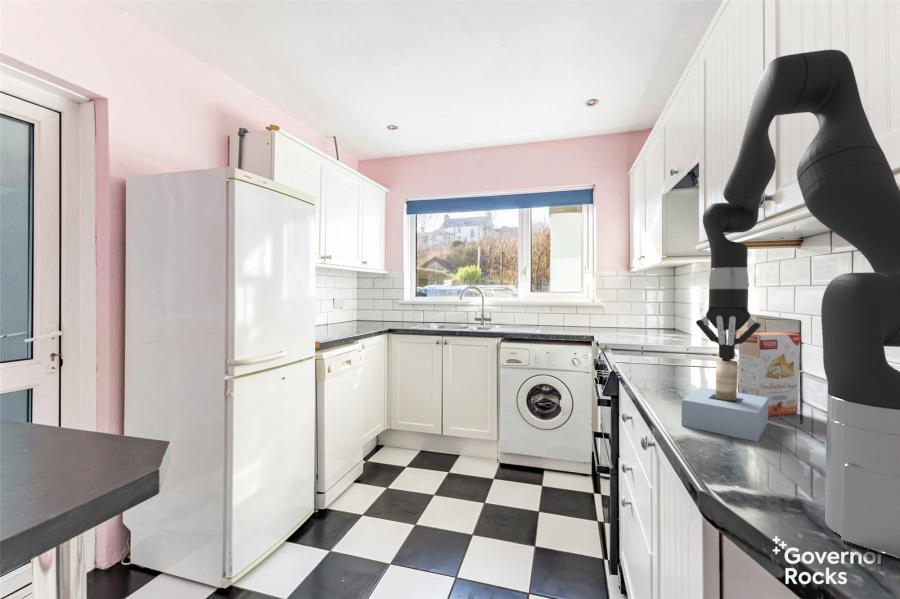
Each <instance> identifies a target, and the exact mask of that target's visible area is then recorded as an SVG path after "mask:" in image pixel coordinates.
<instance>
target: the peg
mask: <svg viewBox="0 0 900 599" xmlns="http://www.w3.org/2000/svg"><path fill="white" fill-rule="evenodd" d="M715 368H716V369H715V370H716V372H715V389H716V396H715V398H716V400H720V401H726V402H732V403H736V401H737V399H736V396H737V393H738V361H737V360H735V359H731V361H722V358H719V359H716V366H715Z"/></svg>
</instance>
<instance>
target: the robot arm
mask: <svg viewBox="0 0 900 599" xmlns="http://www.w3.org/2000/svg"><path fill="white" fill-rule="evenodd" d="M753 95H754V96H753V99H752V102H751V106H750V110H749V113H748V117H747V122H746V124H745V128H744V132H743V136H742V141H741V145H740V149H739V152H738V156H737V157H736V161H735V163H734V167H733V169H732V171H731V172H730V175H729V178H728V180H727V182H726V183H725V186H724V189H723V191H722V192H723V195H722V196H723V198H724V199H725V201H726V202H717V203H716V202H715V203H712V204H710V205H708V206H707V207H706V208H705V210H704V211H703V214H702V224H703V228H704V232H705V234H706V236H707V237H706V238H707V240H708V244H709V249H710V250H709V251H710V273H709V279H708V280H709V281H708V283H709V284H708V310H707V312H706V313H705V316H704V317H703V318H701V319H698V320H696V322H695V324H696V325H697V326H698V328H699V329H700V330H701V331H702V332H703V333H704V335H705V336H706V337H707V338H708V339H709V341H711V342H714V343H716V344H718V356H719V359H722V361H731V360H734V358H735V354H736V352H735V349H736V348H735V346H736V345H739V344H741V343H743V342H745V341H746V340H747V339H748V338H749V337H750V336H751V335H752V334H753V333H756V332H757V331H758V330H759V329H760V328H761V326H762V323H761V322H758V321H756V320H754V319H753V318H751V314H750V312H749V287H750V282H749V274H748V255H749V254H748V253H749V252H748V250H749V249H748V246H747V245H746V244H745V243H743V242H737V241H732V240H729V239H728V238H727V237H726V234H730V233H731V234H732V233H733V234H735V233H745V232H749V231H751V230H752V229H753V228H755V226H756V225H757V223H758V221H759V211H760V204H761V200H762V197H763V194H764V193H765V190H766V188H767V187H768V185H769V183H770V181H771V180H772V178H773V175H774V173H775V170H776V166H777V165H776V164H777V163H776V162H777V161H776V155H775V152H774V149H773V146H772V144H771V141H770V140H771V139H770V136H769V130H770V127H771V123H772V121H773V120H774V119H775V117H776V116H784V115H792V114H793V115H794V114H803V113H811V114H812V115H814V116H815V117H816V119H817V123H818V127H819V129H818V131H817V133H816V135H815V136H814V137H813V139H812V141H811V142H810V143H809V145H808V146H807V148H806V149H805V151H804V153H803V155H802V157H801V158H800V160H799V162H798V164H797V165H798V166H797V169H796V177H797V183H798V185H799V189H800V192H801V195H802V198H803V201H804V204H805V206H806V208H807V210H808V211H809V213H810V214H811V215H812V216H813V217H814V218H815V219H816V220H817V221H819V222H820V223H821V224H823V225H824V227H826V228H828V229H829V230H830V231H832V232H833V233H834V234H836V235H837V236H839V237H841V239H843V240H844V241H846V242H848V243H849V244H850V245H852V246H853V247H854V248H856V250H857V251H858V252H860V253H861V254H862V255H863V257H864V258H865V259H866V260H867V261H868V263H869V265H870V266H871V268H872V270H873V272H848V273H843V274H840V275H837V276H836V277H834V278H833V279H831V281H830V282H829V283H828V285H826V286H827V287H826V288H825V290H824V293H823V295H822V301H821V311H820V312H821V314H820V316H821V317H820V318H821V320H820V322H821V333H822V334H821V335H822V336H821V337H822V359H823V360H822V361H823V369H824V374H825V377H826V380H827V406H826V407H827V409H826V411H827V412H826V414H827V415H826V444H825V447H826V448H825V449H826V451H825V454H826V455H825V490H824V492H825V496H824V497H825V499H824V500H825V502H824V504H825V505H824V507H825V508H824V509H825V510H824V512H825V513H824V515H825V516H824V523H825V525H826V526H827V527H828V528H829V529H830V530H831V531H833V533H835V532H836V533H837V535H838V534H839V535H840V536H841V537H840V536H839V535H838V536H839V537H840V540H841V539H842V540H845V541H848V542H851V543H854V544H858V545H861V546H866V547H869V548H875V549H878V550H881V551H884V552H887V553H890V554H892V555H895V556H897V557H899V558H900V370H897V369H896V368H894V367H893V366H892V365H890V364H889V362H888V361H887V356H886V353H885V347H890V348H891V347H892V348H895V347H896V348H897V347H898V348H899V347H900V188H899V187H898V186H899V185H898V183H897V180H896V178H895V175H894V173H893V170H892V168H891V166H890V163H889V161H888V159H887V157H886V154H885V152H884V151H883V149H882V148H881V146H880V143H879V142H878V140H877V137H876V136H875V133H874V132H873V129H872V126H871V124H870V122H869V118H868V117H867V114H866V112H865V110H864V106H863V102H862V99H861V96H860V90H859V87H858V83H857V79H856V75H855V72H854V68H853V65H852V62H851V60H850V58H849V57H848V55H847V54H846V53H845V52H844V51H841V50H839V49H823V50H815V51H808V52H807V51H806V52H800V53H794V54H787V55H781V56H779V57H776V58H774V59H773V60H772V61H770V62H769V64H768V65H767V66H766V68H765V69H763V72H762V74H761V76H760V78H759V80H758V84H757V86H756V89H755V92H754V94H753ZM710 323H711V324H712V326H713V327H714V328H715V329H716V330H717V335H718V336H717V335H716V333H715V332H714V331H713V330H712V329H711V328H710ZM746 323H747V324H746ZM744 325H746V328H747V330H746V331H744V332H743V333H744V334H743V335H741V336H740V335H739V337H738V338H737V335H738V330H739V331H740V329H741V328H743V327H744ZM836 533H835V534H836ZM842 540H841V541H842Z"/></svg>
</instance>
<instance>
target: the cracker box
mask: <svg viewBox="0 0 900 599" xmlns="http://www.w3.org/2000/svg"><path fill="white" fill-rule="evenodd" d="M744 333H745V332H739V337H740V336H741V335H743V334H744ZM738 347H739V348H738V366H737V393H742V394H749V395H756V396H762V397H769V399H768V417H770V416H783V415H793V414H794V415H795V414H796V415H797V414H798V406H799V405H798V401H799V382H800V381H799V378H800V355H801V354H800V353H801V334H799V333H794V332H793V333H792V332H790V333H789V332H776V331H775V332H769V331H768V332H767V331H765V332H760V331H759V332H754V333H753V334H752V335H751V336H750V337H749V338H748V339H747V340H746V341H745V342H743V343H741V344H738Z"/></svg>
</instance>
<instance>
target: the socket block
mask: <svg viewBox="0 0 900 599" xmlns="http://www.w3.org/2000/svg"><path fill="white" fill-rule="evenodd" d="M715 396H716V388H715V389H714V388H707V387H701V386H700V387H699V388H697V389H696V390H695V391H693V392H692V393H690V394H689V395H687V396H686V397H684V398H682V400H681V426H682V427H687V428H690V429H691V428H692V429H696V430H700V429H701V430H700V431H706V432H710V433H715V434H718V435H719V434H720V435H724V436H728V437H734V438H737V439H742V440H748V441H752V442H759V440H760V438H761V436H762V434H763V433H764V431H765V429H766V427H767V425H768V424H769V416H768V399H769V397H762V396H756V395H749V394H742V393H738V392H737V396H736V399H737V401H736V403H732V402H726V401H720V400H716V398H715Z"/></svg>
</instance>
